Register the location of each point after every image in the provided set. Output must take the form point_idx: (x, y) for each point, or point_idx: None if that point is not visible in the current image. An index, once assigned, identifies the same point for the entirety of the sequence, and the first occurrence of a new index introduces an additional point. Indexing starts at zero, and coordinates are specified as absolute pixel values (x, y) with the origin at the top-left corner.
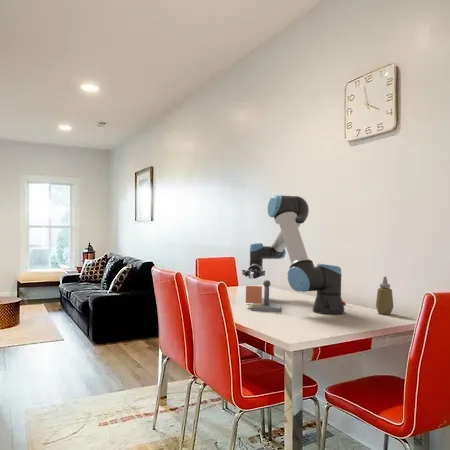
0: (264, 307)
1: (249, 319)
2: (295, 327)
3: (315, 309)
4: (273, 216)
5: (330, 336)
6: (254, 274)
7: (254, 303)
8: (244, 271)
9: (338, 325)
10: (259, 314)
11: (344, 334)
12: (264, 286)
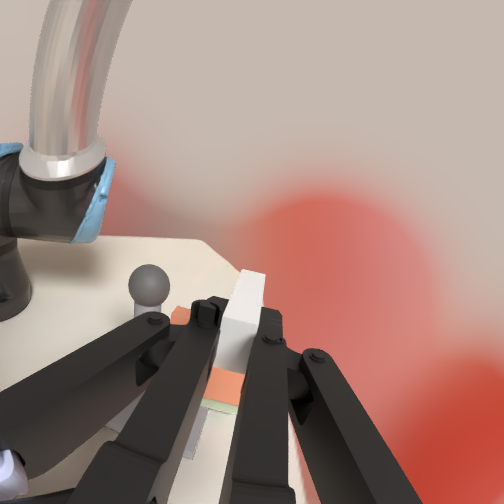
0: None
1: None
2: (165, 259)
3: (27, 295)
4: None
5: (142, 237)
6: (218, 300)
7: (194, 428)
8: (380, 449)
9: (88, 250)
10: None
11: (119, 236)
12: (161, 303)
